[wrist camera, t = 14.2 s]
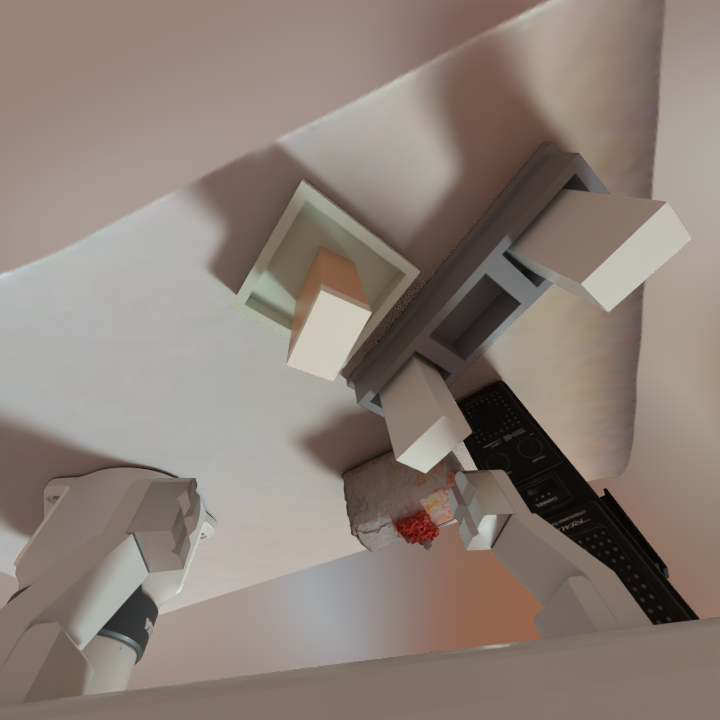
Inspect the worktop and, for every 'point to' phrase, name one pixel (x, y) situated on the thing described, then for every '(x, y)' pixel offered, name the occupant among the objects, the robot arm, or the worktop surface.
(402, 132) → the worktop surface
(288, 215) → the tray
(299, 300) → the block
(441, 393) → the fuse block
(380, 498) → the food item
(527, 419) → the portable radio
